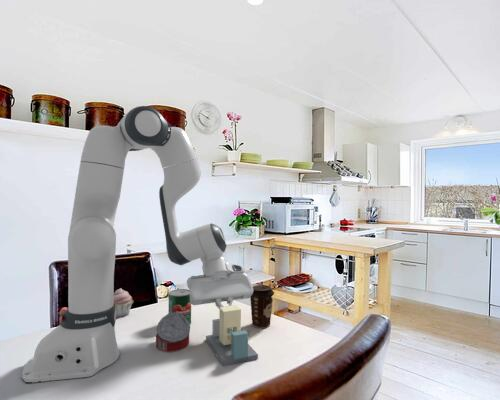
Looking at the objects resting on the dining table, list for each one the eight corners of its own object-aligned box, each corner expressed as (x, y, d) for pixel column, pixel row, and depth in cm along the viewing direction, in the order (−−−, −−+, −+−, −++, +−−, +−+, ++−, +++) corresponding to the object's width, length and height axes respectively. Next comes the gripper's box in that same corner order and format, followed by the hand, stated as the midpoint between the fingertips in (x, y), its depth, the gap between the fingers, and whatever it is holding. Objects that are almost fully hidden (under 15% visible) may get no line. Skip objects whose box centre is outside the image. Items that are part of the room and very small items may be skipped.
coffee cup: (274, 320, 116) (274, 284, 115) (273, 330, 107) (274, 291, 107) (250, 319, 116) (250, 284, 116) (247, 329, 108) (248, 290, 108)
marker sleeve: (223, 345, 92) (223, 311, 91) (219, 339, 95) (219, 307, 95) (240, 342, 94) (240, 309, 94) (235, 336, 97) (235, 305, 97)
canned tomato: (180, 329, 107) (180, 296, 107) (163, 324, 111) (163, 293, 111) (196, 322, 114) (196, 291, 114) (179, 317, 118) (179, 287, 118)
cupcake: (132, 317, 118) (132, 290, 117) (104, 320, 115) (104, 292, 115) (134, 309, 127) (134, 284, 126) (109, 311, 124) (109, 285, 124)
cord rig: (223, 366, 84) (223, 337, 84) (205, 339, 100) (206, 315, 100) (257, 358, 88) (258, 331, 88) (236, 334, 104) (236, 311, 104)
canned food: (187, 354, 100) (202, 326, 100) (171, 366, 91) (188, 336, 90) (160, 332, 104) (174, 306, 103) (141, 342, 94) (157, 313, 94)
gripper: (187, 271, 99) (194, 313, 91) (248, 266, 108) (260, 304, 99) (184, 282, 104) (191, 323, 95) (243, 276, 112) (254, 313, 103)
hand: (227, 313), depth 97 cm, fingers closed, pressing on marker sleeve
